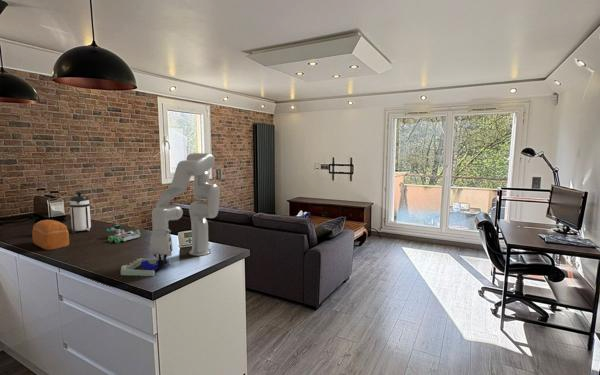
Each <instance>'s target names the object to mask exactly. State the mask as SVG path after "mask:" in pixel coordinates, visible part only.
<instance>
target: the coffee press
mask: <svg viewBox="0 0 600 375" xmlns="http://www.w3.org/2000/svg"><path fill="white" fill-rule="evenodd" d="M68 200H69V207H70V221H71V229H72V230H71V233H72V234H75V233H77V232H79V231H86V232H87V233H90V231H91V230H92V222H91V221H92V220H91V209H90V208H91V207H90V206H91V203H90V197H89V196H88V195H85V194H82V193H81V191H78V192H77V195H73V196H70V198H69V199H68Z"/></svg>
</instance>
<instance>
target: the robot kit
mask: <svg viewBox="0 0 600 375" xmlns="http://www.w3.org/2000/svg"><path fill="white" fill-rule="evenodd" d="M106 232H109V233H110V232H115V233H116V234H114V235H109V236H108V237H107V241H108V243H116V244H119V243H120V244H121V242H127V241H129V240H133V239H136V238H137V239H138V238H140V237H141V232H140V229H135V231H134V230H129V231H125V230H124V229H121V224H116V225H115V224H114V227H110V229H109V228H106Z"/></svg>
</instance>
